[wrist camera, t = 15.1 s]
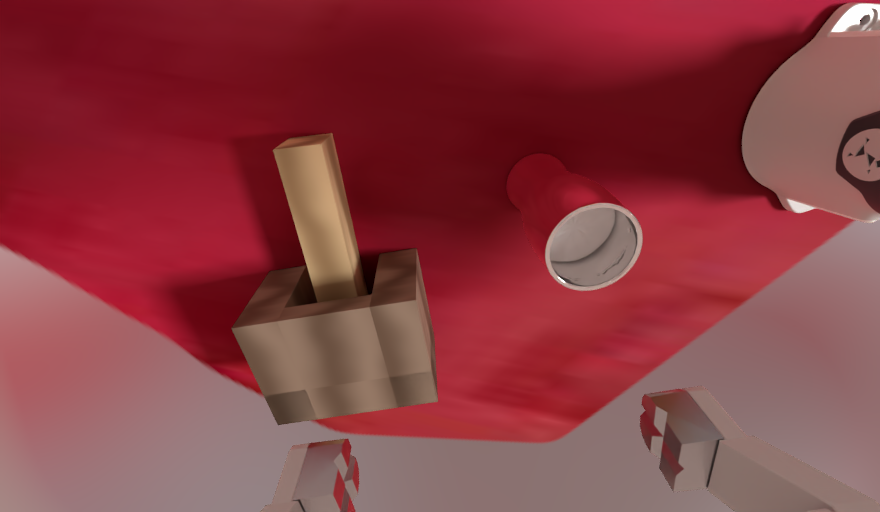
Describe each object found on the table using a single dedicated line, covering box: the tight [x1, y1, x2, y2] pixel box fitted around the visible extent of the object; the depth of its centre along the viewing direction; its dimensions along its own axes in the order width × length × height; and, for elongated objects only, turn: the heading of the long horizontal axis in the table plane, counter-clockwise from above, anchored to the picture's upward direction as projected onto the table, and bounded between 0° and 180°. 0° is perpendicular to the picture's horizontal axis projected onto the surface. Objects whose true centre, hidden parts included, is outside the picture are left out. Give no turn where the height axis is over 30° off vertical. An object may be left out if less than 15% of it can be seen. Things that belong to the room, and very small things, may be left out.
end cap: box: [231, 248, 438, 425], centre depth 42 cm, size 16×12×10 cm
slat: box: [273, 133, 368, 303], centre depth 40 cm, size 4×18×5 cm, turn 6°
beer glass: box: [506, 153, 643, 291], centre depth 34 cm, size 7×7×15 cm
